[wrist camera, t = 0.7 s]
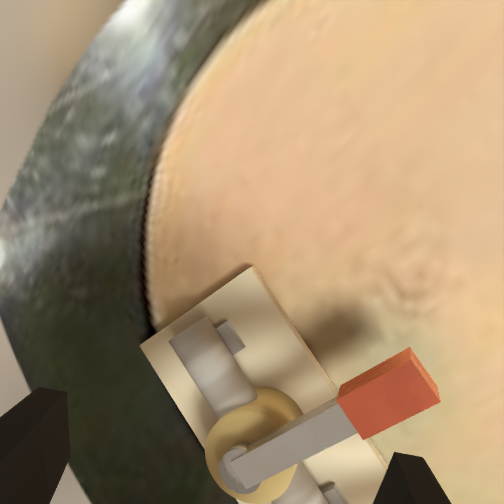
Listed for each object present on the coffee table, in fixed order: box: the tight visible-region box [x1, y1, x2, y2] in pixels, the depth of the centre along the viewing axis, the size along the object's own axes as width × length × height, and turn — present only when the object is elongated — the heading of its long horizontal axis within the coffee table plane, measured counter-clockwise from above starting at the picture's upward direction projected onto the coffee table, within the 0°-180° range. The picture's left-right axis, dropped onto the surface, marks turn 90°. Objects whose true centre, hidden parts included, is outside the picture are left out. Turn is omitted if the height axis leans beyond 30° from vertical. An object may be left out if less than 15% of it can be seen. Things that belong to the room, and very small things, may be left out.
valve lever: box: [219, 347, 441, 494], centre depth 22 cm, size 12×2×2 cm, turn 125°
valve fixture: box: [139, 266, 388, 504], centre depth 27 cm, size 18×10×5 cm, turn 35°
